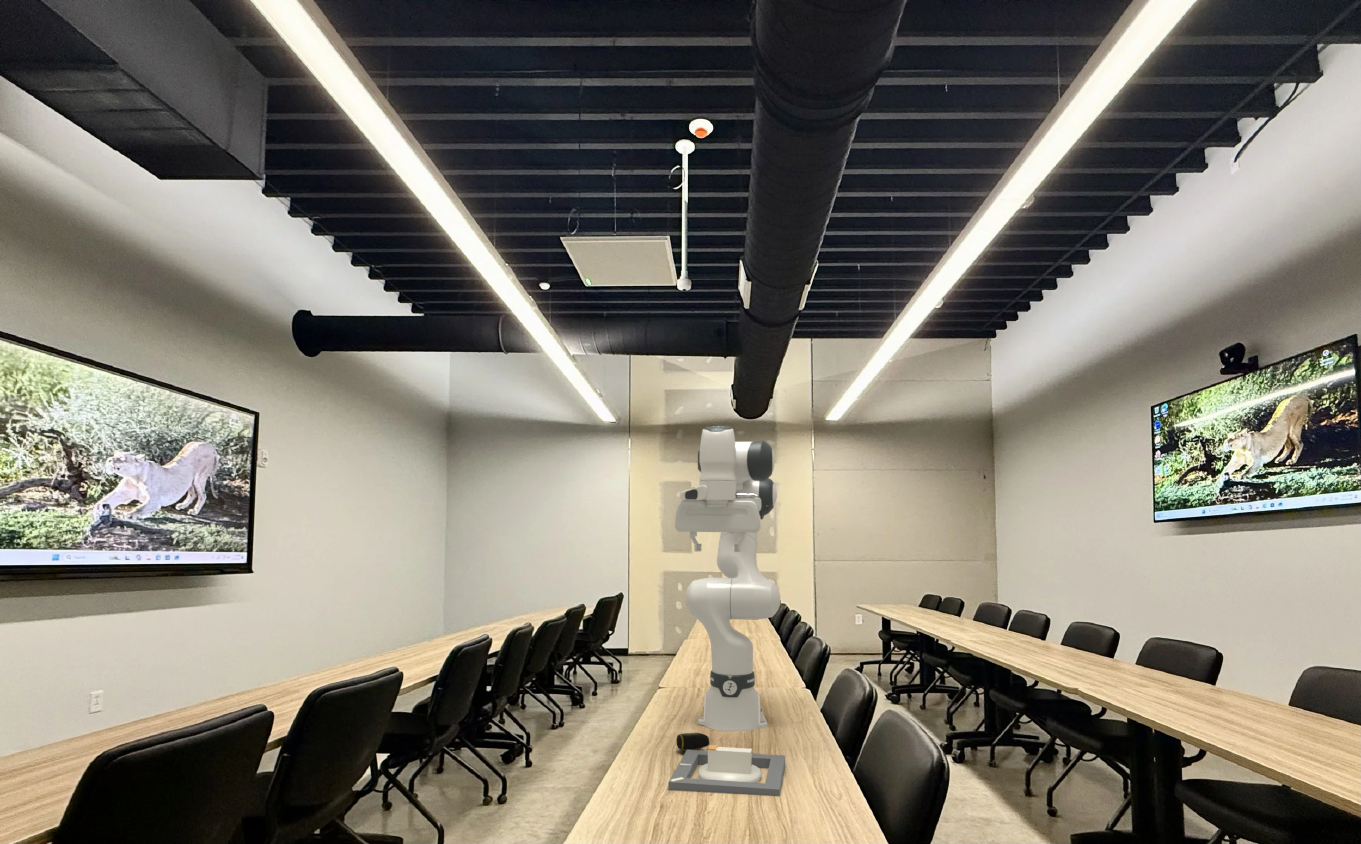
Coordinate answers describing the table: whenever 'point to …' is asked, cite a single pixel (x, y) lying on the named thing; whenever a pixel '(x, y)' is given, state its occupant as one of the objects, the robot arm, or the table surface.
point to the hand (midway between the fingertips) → (717, 551)
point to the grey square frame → (698, 757)
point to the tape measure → (692, 741)
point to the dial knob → (730, 765)
